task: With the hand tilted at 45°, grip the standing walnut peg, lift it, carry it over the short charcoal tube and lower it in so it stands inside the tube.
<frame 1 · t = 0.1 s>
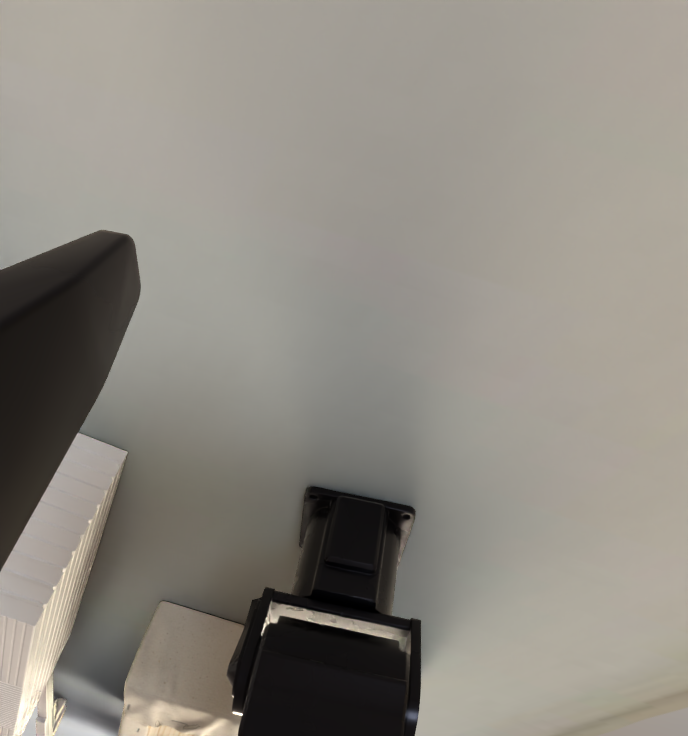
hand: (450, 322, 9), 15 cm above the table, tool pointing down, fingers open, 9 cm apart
box: (254, 693, 63), on the table
white ridged block: (26, 535, 48), on the table
caliper: (57, 672, 69), on the table
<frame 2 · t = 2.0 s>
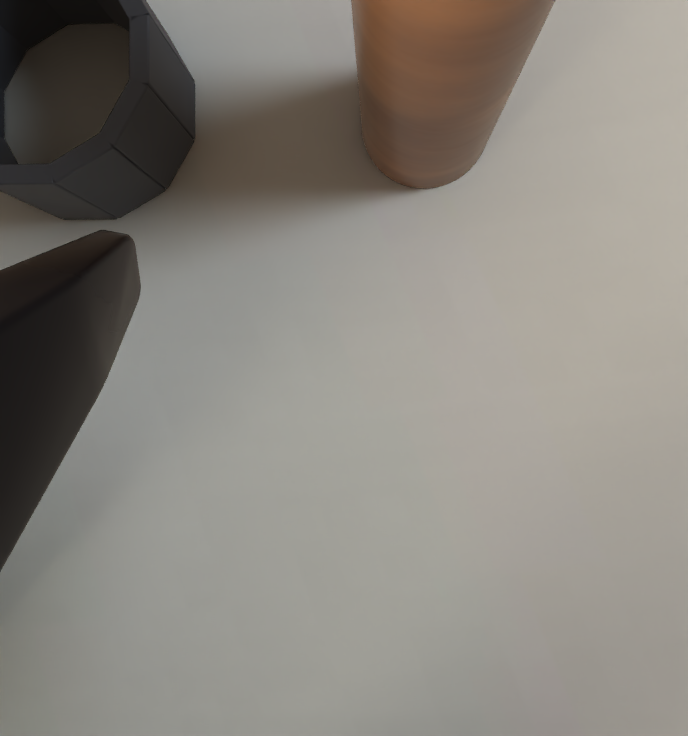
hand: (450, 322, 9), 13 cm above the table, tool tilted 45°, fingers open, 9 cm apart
peg: (424, 125, 22), on the table
tube: (91, 113, 23), on the table
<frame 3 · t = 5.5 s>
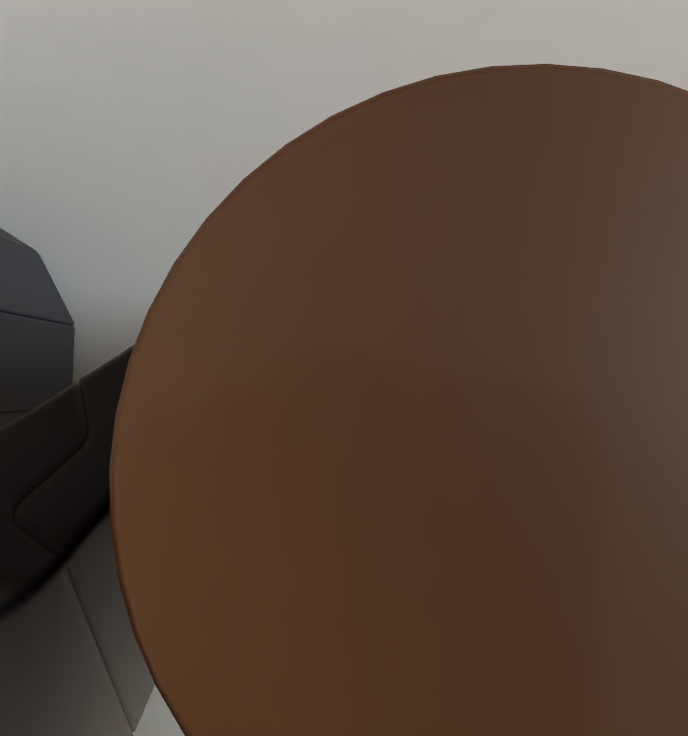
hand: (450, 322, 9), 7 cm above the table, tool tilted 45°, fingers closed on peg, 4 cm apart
peg: (402, 404, 15), on the table, touching gripper
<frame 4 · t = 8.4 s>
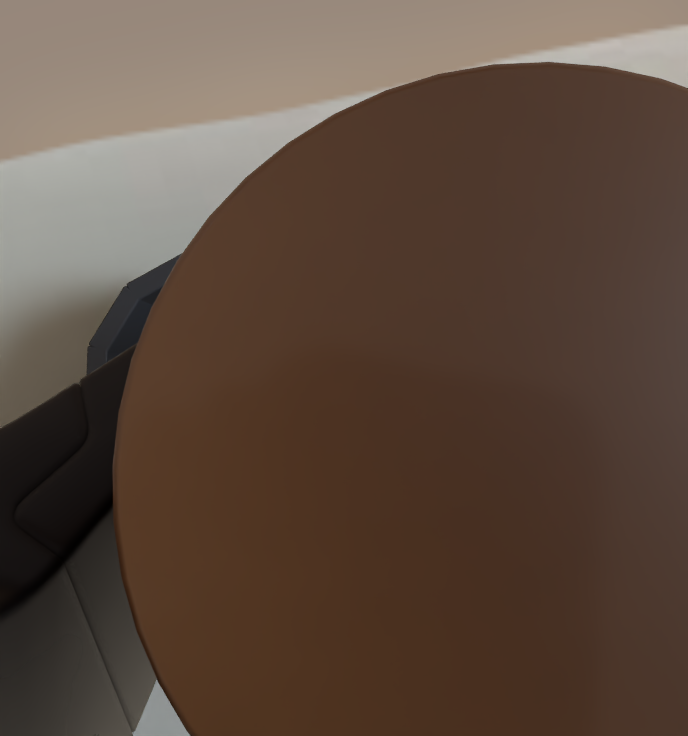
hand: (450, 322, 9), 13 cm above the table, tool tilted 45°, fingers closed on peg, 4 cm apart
peg: (403, 404, 15), point 7 cm above the table, touching gripper
tube: (248, 383, 22), on the table
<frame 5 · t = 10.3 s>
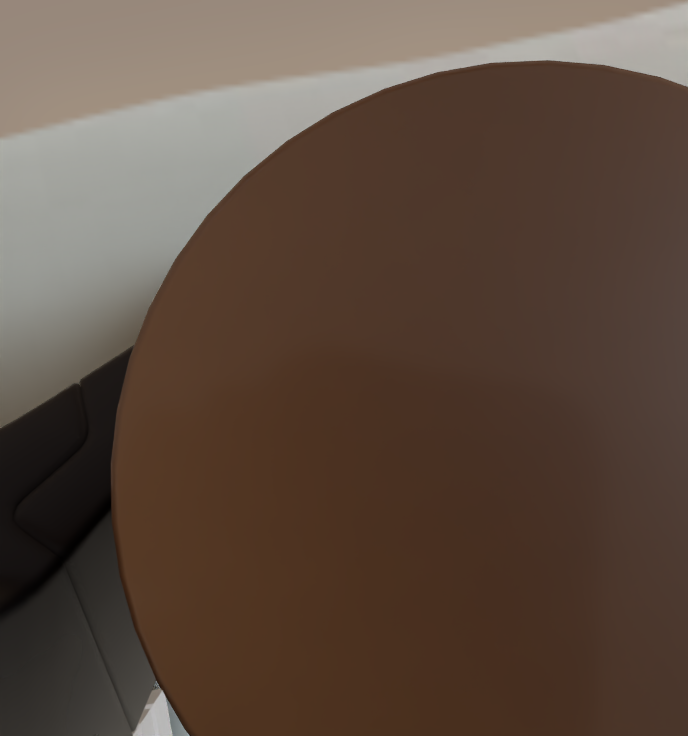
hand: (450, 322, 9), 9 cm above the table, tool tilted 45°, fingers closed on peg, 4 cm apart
peg: (402, 404, 15), point 3 cm above the table, touching gripper
when the fingers open (7 cm above the table, at t = 11.6 s): peg stays where it is, resting in tube.
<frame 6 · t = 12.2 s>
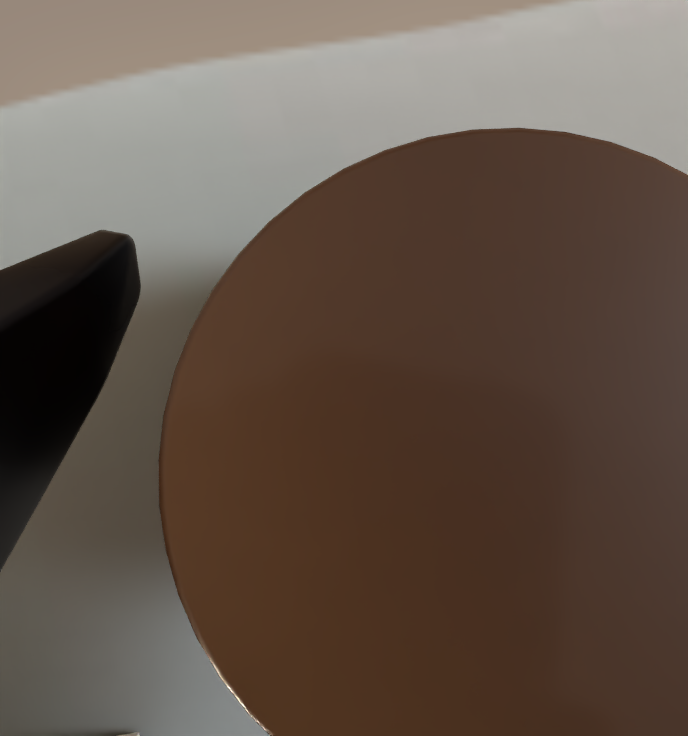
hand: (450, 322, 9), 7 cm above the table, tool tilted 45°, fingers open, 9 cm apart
peg: (401, 405, 16), resting in tube
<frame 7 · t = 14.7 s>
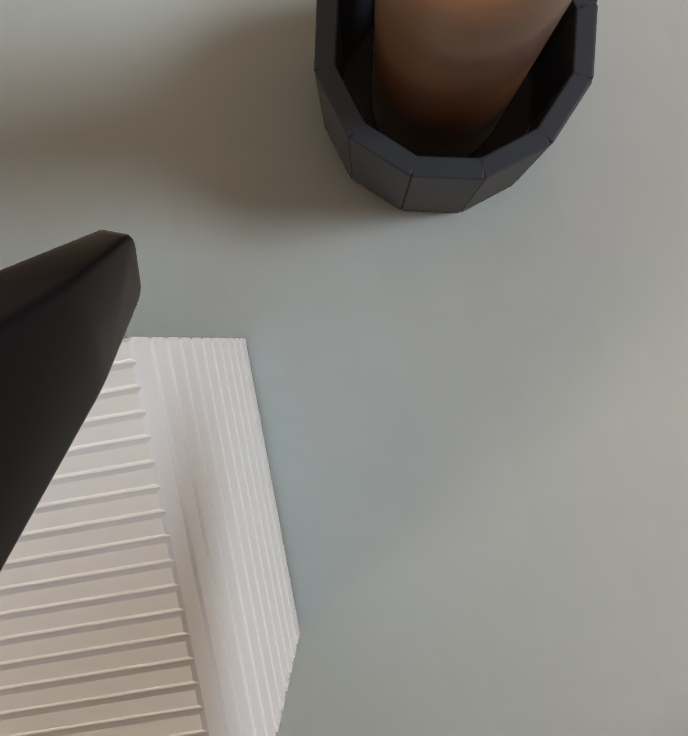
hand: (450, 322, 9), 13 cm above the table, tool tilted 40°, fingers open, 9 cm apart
peg: (436, 99, 22), resting in tube
tube: (436, 100, 22), on the table
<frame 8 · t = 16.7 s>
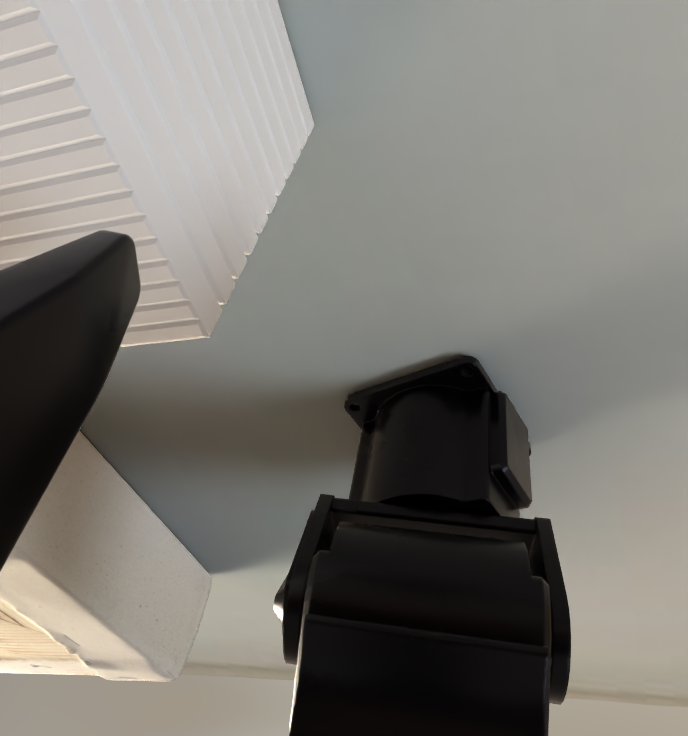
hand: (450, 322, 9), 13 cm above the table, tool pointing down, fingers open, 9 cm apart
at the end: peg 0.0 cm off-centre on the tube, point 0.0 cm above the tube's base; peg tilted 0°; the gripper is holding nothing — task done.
